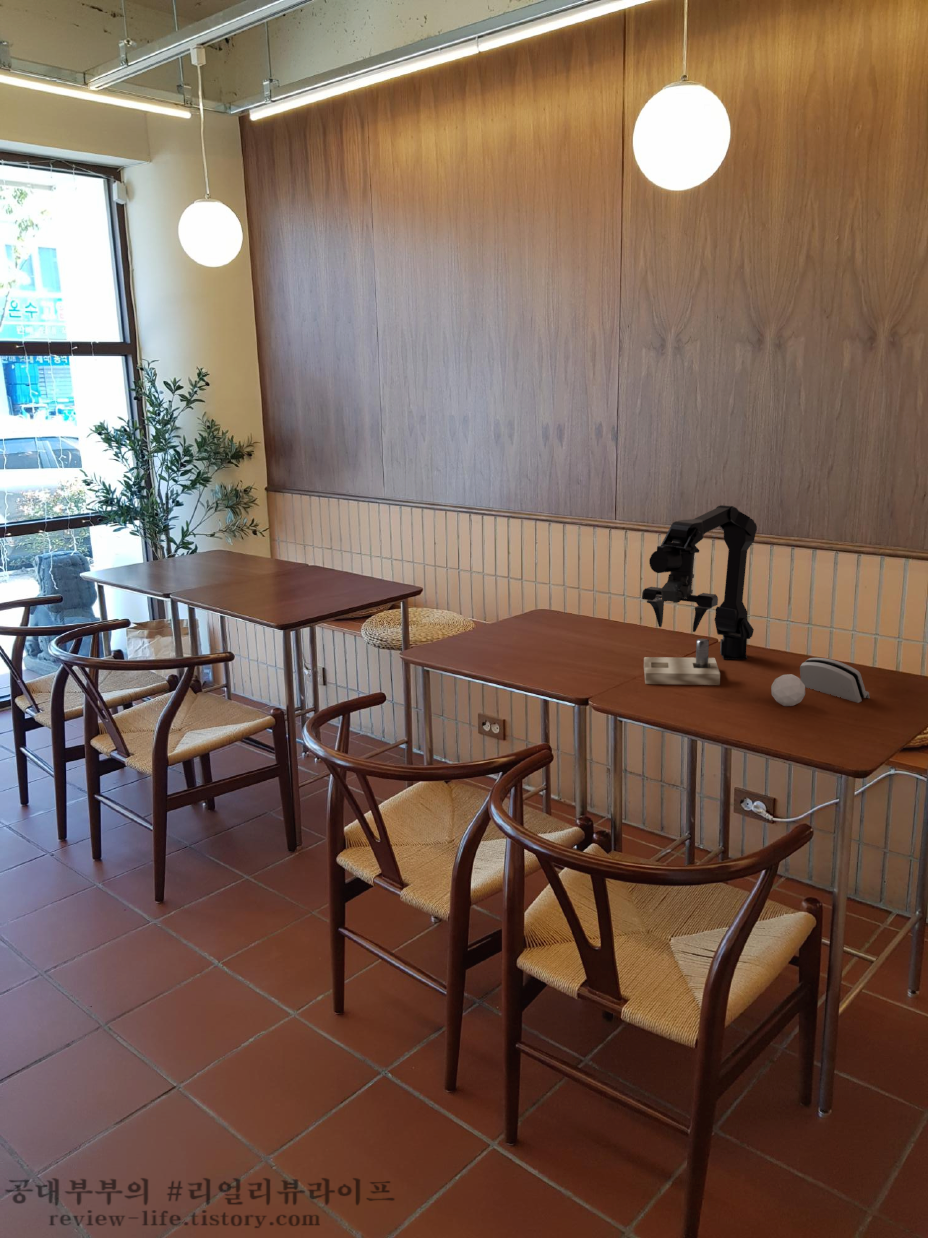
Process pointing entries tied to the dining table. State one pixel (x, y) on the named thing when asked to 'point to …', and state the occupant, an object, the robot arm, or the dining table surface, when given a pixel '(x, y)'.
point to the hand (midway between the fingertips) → (677, 629)
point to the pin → (702, 653)
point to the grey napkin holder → (833, 679)
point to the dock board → (680, 671)
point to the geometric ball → (788, 690)
